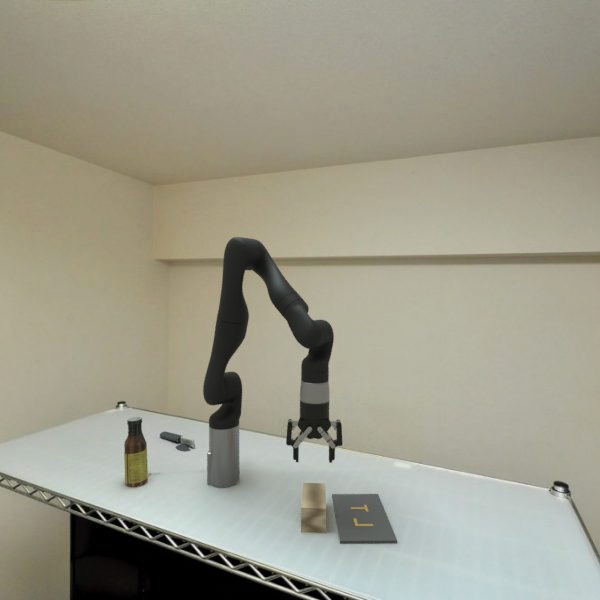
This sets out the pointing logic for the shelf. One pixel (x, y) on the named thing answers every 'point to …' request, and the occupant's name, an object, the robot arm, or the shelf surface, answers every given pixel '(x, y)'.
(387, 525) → the picture tile
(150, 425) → the shelf surface
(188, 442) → the can opener
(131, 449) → the sauce bottle
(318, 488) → the maple block
